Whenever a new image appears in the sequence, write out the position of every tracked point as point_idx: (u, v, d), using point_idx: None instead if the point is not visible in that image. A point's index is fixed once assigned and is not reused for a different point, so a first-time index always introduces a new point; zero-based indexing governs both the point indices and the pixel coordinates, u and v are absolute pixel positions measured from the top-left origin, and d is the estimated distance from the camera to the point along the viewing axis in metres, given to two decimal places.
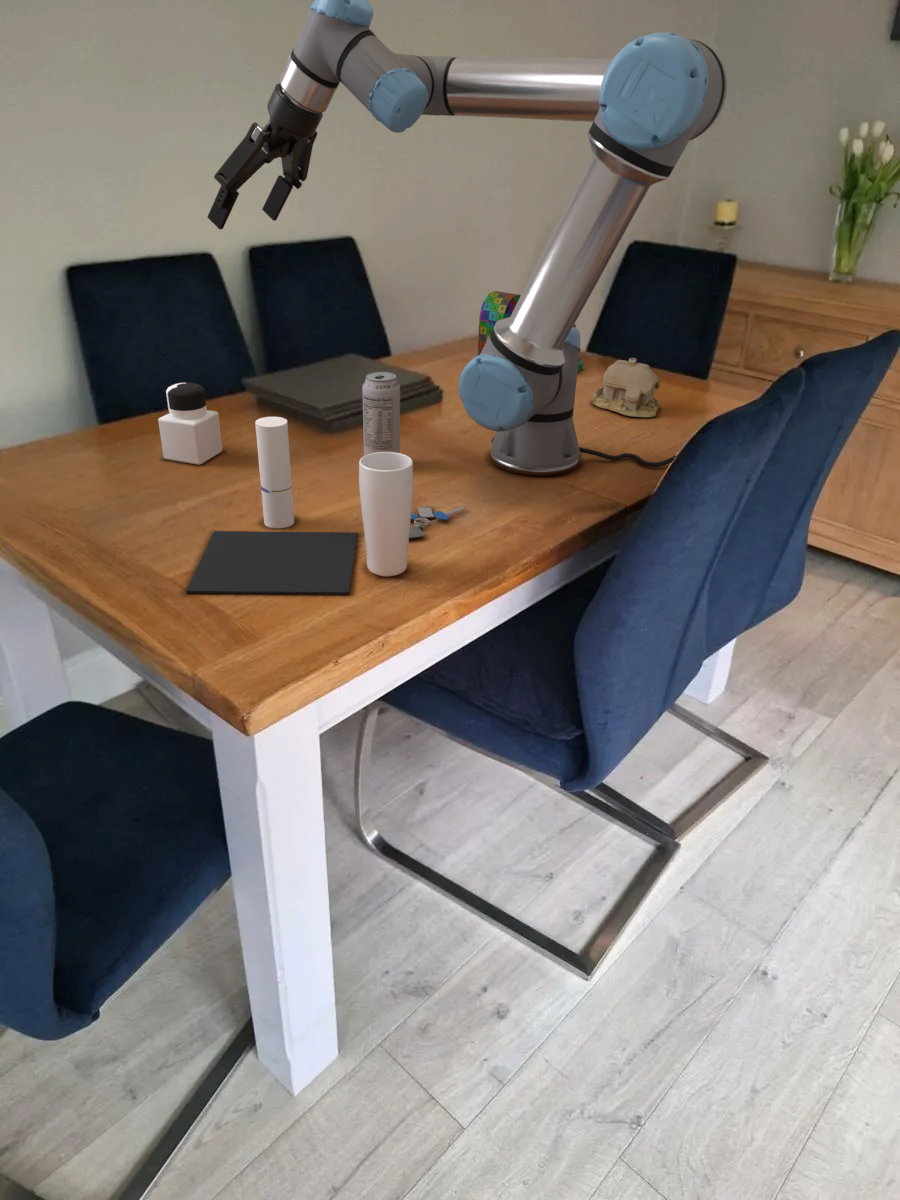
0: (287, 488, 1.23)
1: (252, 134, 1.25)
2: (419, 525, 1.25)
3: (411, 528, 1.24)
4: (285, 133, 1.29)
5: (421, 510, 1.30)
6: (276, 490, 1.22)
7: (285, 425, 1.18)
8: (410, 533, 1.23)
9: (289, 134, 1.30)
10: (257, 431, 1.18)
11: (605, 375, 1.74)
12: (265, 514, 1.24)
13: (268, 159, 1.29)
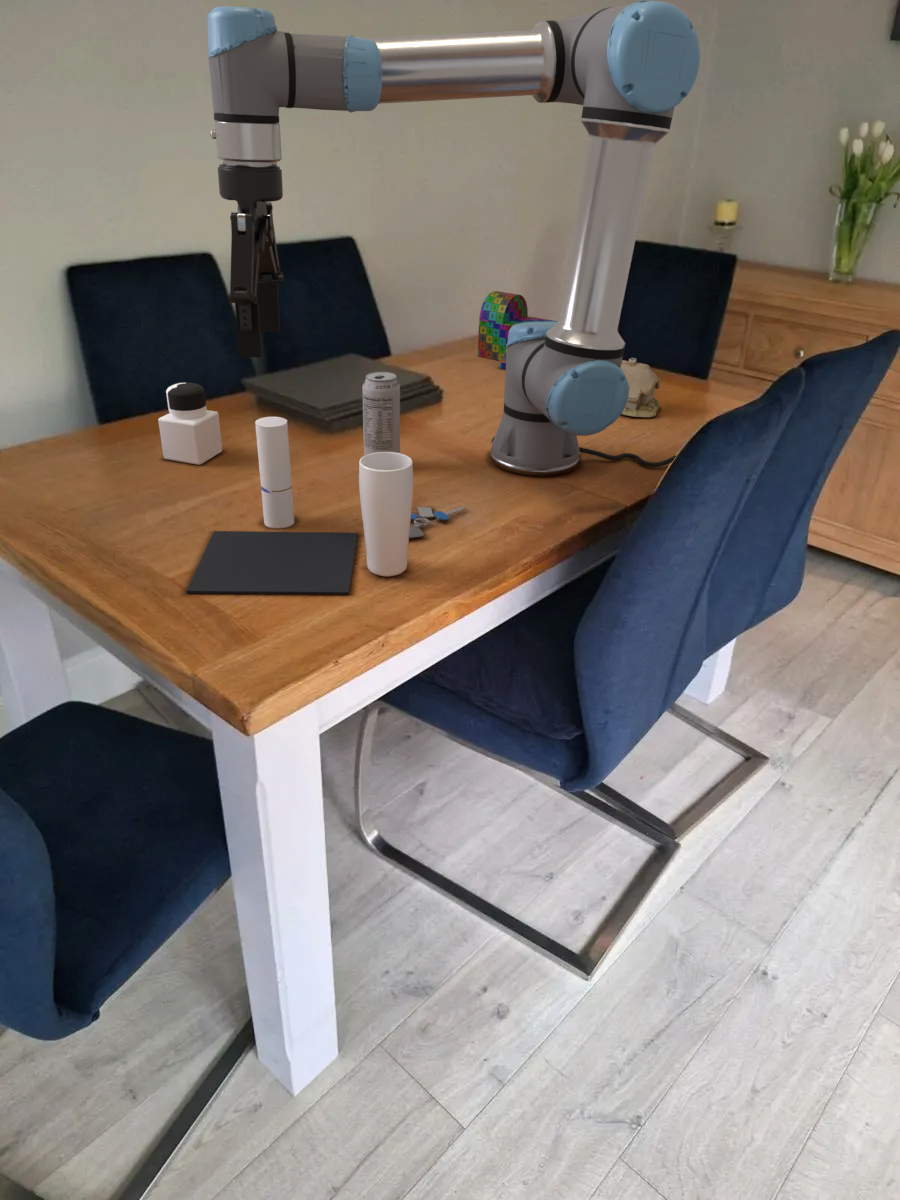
0: (287, 488, 1.23)
1: (238, 225, 1.02)
2: (419, 525, 1.25)
3: (411, 528, 1.24)
4: (258, 210, 1.06)
5: (421, 510, 1.30)
6: (276, 490, 1.22)
7: (285, 425, 1.18)
8: (410, 533, 1.23)
9: (260, 210, 1.07)
10: (257, 431, 1.18)
11: None
12: (265, 514, 1.24)
13: (262, 246, 1.06)
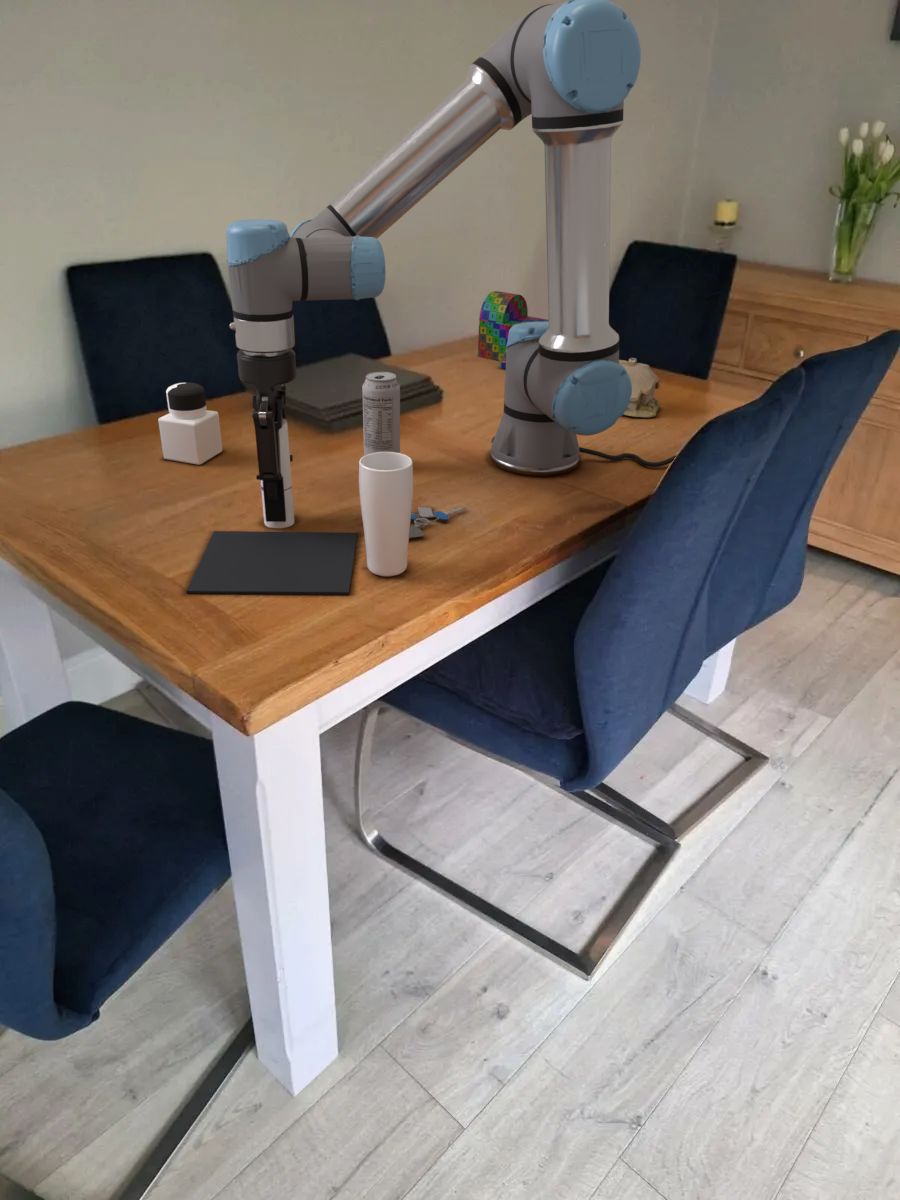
0: (287, 488, 1.23)
1: (260, 423, 1.12)
2: (419, 525, 1.25)
3: (411, 528, 1.24)
4: (274, 387, 1.14)
5: (421, 510, 1.30)
6: None
7: (285, 425, 1.18)
8: (410, 533, 1.23)
9: (276, 389, 1.16)
10: None
11: None
12: (265, 514, 1.24)
13: (281, 426, 1.17)
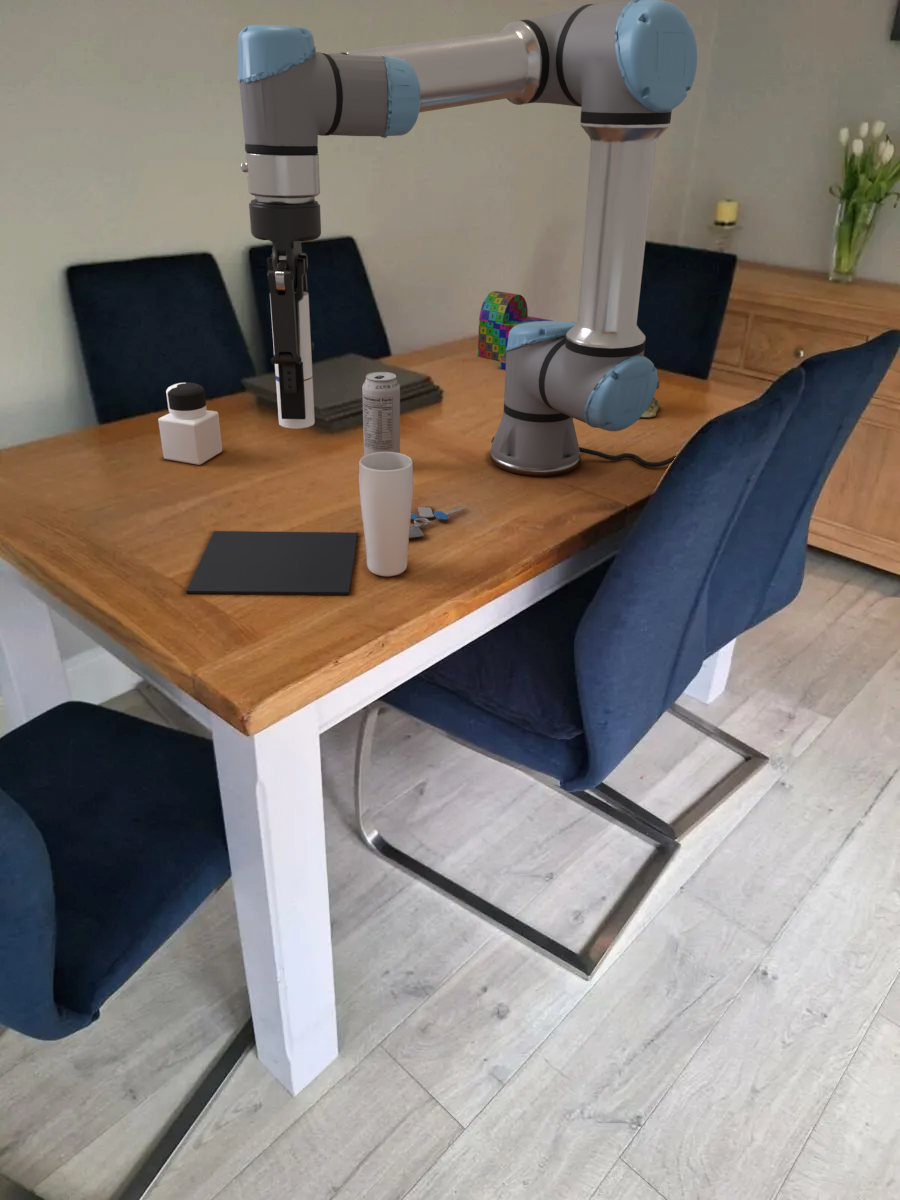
0: (307, 378, 1.02)
1: (277, 286, 0.92)
2: (419, 525, 1.25)
3: (411, 528, 1.24)
4: (294, 245, 0.94)
5: (421, 510, 1.30)
6: None
7: (305, 297, 0.98)
8: (410, 533, 1.23)
9: (296, 250, 0.96)
10: None
11: None
12: (280, 411, 1.04)
13: (302, 296, 0.96)
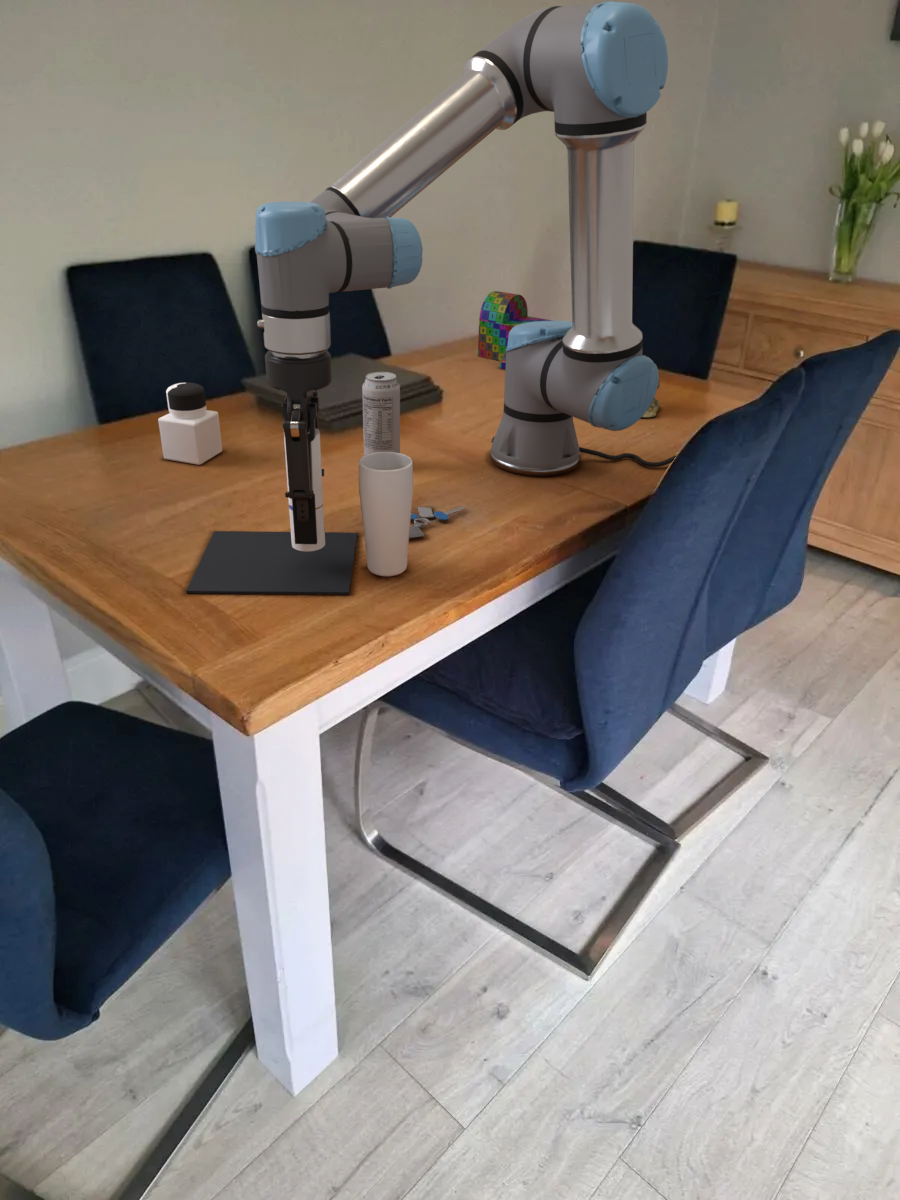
0: (318, 506, 1.09)
1: (291, 434, 0.99)
2: (419, 525, 1.25)
3: (411, 528, 1.24)
4: (307, 393, 1.01)
5: (421, 510, 1.30)
6: None
7: (317, 436, 1.05)
8: (410, 533, 1.23)
9: (309, 395, 1.03)
10: None
11: None
12: (293, 535, 1.11)
13: (314, 437, 1.03)
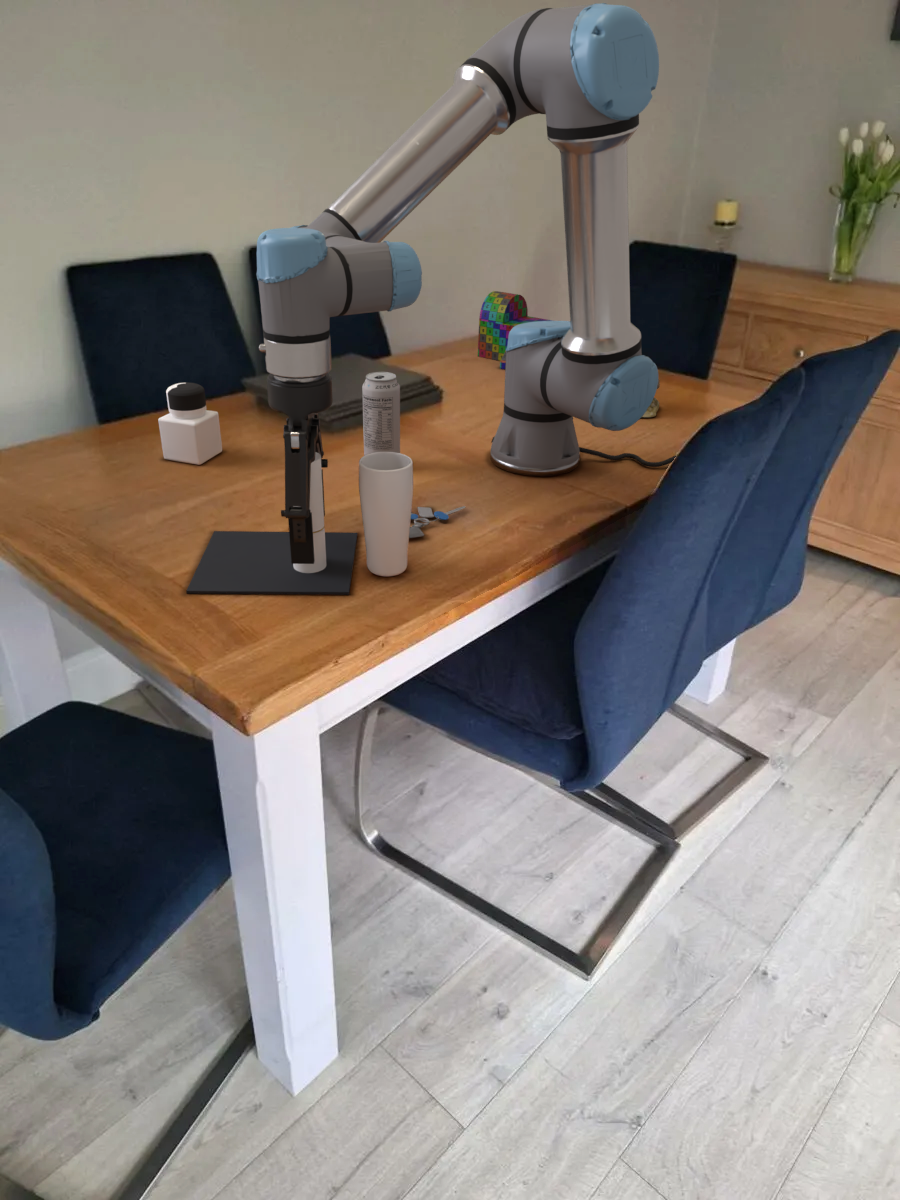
0: (320, 529, 1.10)
1: (291, 444, 0.99)
2: (419, 525, 1.25)
3: (411, 528, 1.24)
4: (309, 419, 1.03)
5: (421, 510, 1.30)
6: None
7: (318, 461, 1.06)
8: (410, 533, 1.23)
9: (310, 417, 1.04)
10: None
11: None
12: None
13: (314, 456, 1.03)
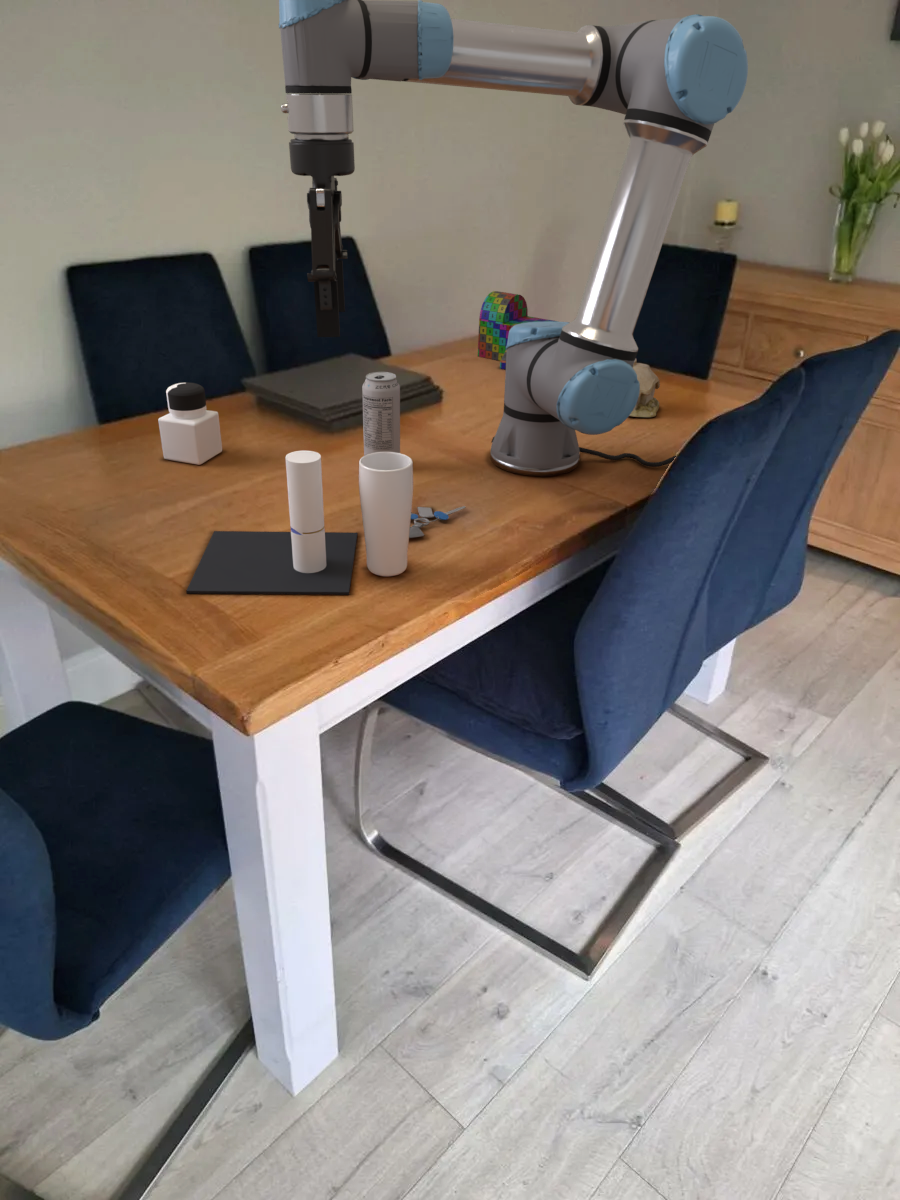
0: (320, 529, 1.10)
1: (317, 201, 0.99)
2: (419, 525, 1.25)
3: (411, 528, 1.24)
4: (332, 184, 1.03)
5: (421, 510, 1.30)
6: (308, 532, 1.10)
7: (318, 461, 1.06)
8: (410, 533, 1.23)
9: None
10: (287, 467, 1.06)
11: None
12: (295, 557, 1.12)
13: (338, 222, 1.03)
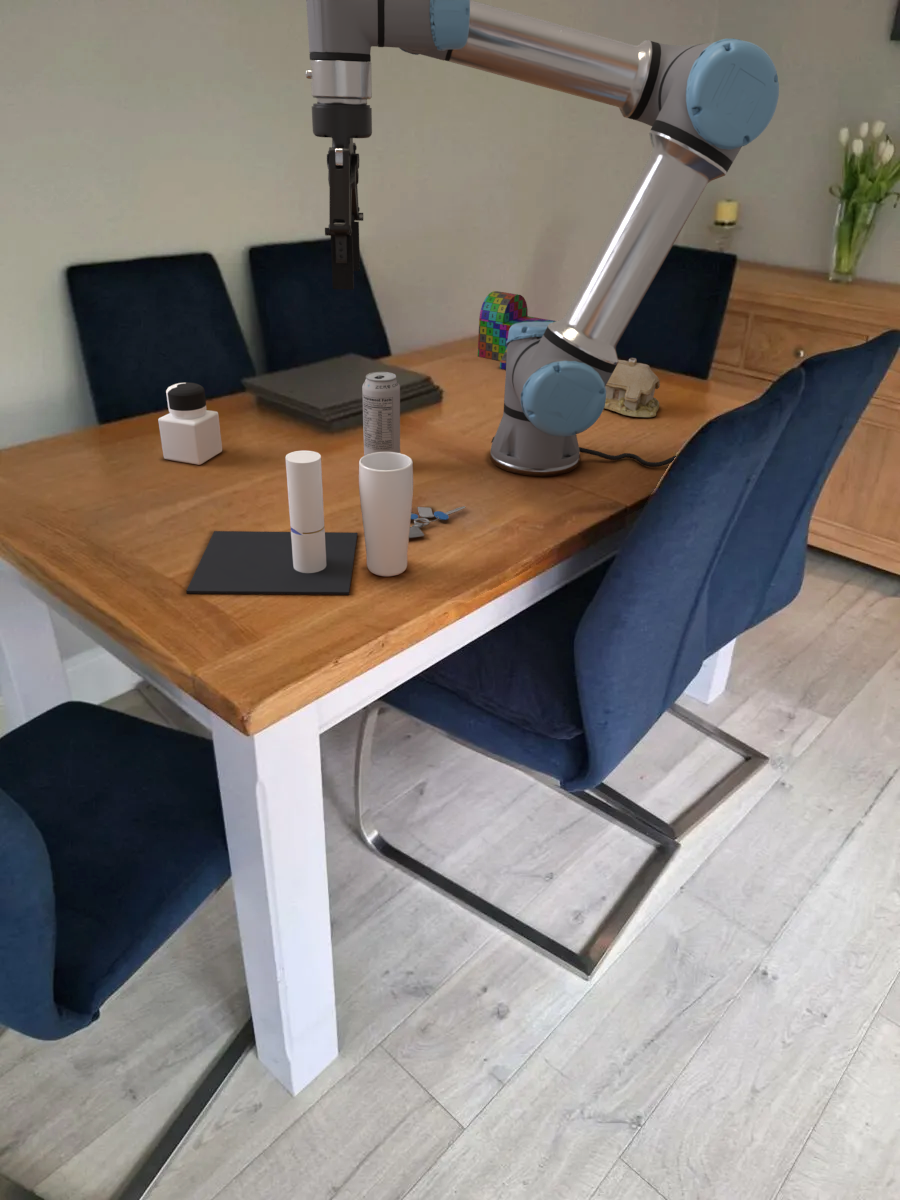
0: (320, 529, 1.10)
1: (335, 160, 1.07)
2: (419, 525, 1.25)
3: (411, 528, 1.24)
4: (350, 146, 1.11)
5: (421, 510, 1.30)
6: (308, 532, 1.10)
7: (318, 461, 1.06)
8: (410, 533, 1.23)
9: (351, 148, 1.12)
10: (287, 467, 1.06)
11: None
12: (295, 557, 1.12)
13: (354, 181, 1.11)
